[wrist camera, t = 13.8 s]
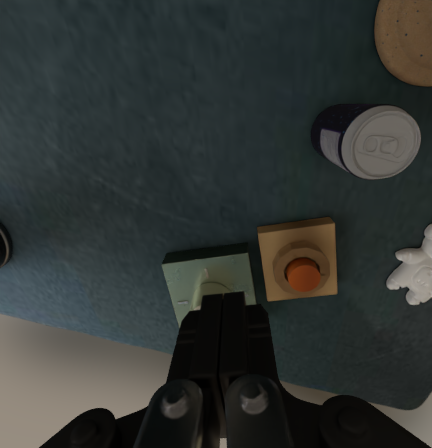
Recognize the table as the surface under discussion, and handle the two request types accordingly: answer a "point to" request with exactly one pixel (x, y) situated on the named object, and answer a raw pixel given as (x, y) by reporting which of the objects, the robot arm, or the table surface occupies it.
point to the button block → (298, 255)
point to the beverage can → (367, 139)
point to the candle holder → (405, 39)
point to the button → (303, 275)
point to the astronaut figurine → (415, 271)
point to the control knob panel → (207, 273)
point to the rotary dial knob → (206, 293)
